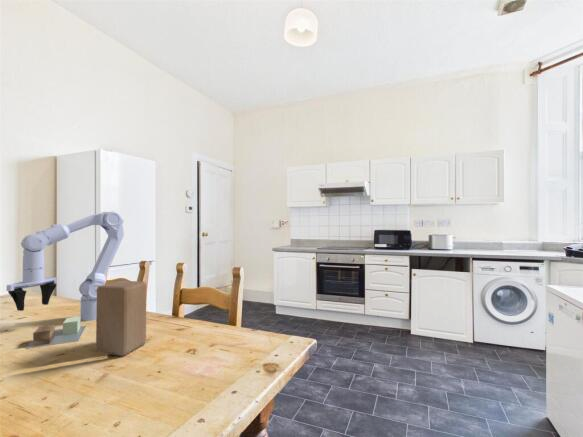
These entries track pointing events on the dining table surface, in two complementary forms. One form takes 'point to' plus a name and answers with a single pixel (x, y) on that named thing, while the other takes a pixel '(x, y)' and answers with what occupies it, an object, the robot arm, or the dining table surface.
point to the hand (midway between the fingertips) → (33, 307)
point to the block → (121, 317)
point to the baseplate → (61, 338)
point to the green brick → (71, 325)
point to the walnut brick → (43, 335)
